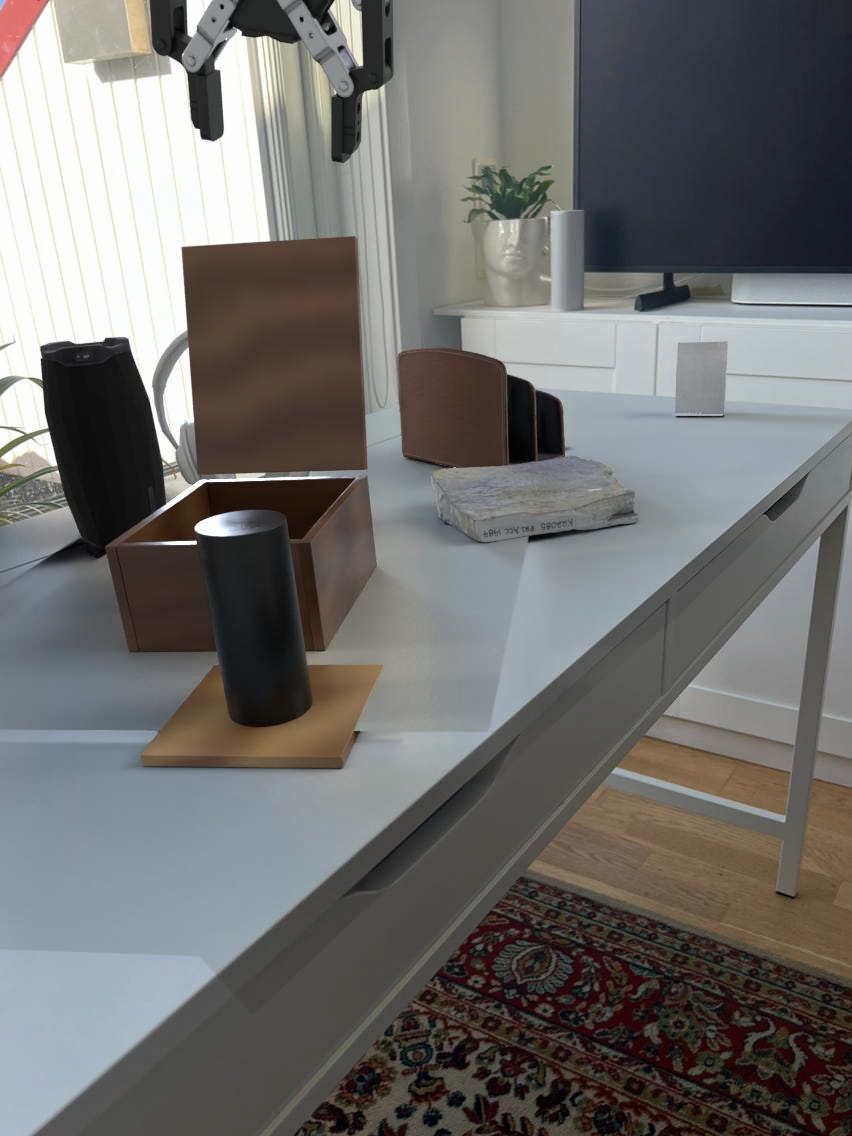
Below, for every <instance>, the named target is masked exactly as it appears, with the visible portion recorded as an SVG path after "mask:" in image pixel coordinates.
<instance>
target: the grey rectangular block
mask: <svg viewBox="0 0 852 1136" xmlns="http://www.w3.org/2000/svg"><path fill="white" fill-rule="evenodd" d="M728 345H729V341H728V340H724V341H722V340H721V341H685V342H683V341H682V342H678V343H677V351H676V352H677V353H676V370H675V407H674V408H675V411H674V414H675V413H691V414H692V413H694V414H695V413H697V414H699V413H701V414H724V411H725V412H726V396H727V394H726V393H727V373H728ZM724 415H725V414H724Z"/></svg>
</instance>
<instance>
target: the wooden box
mask: <svg viewBox="0 0 852 1136" xmlns="http://www.w3.org/2000/svg"><path fill="white" fill-rule="evenodd" d="M369 488H370V487H369V478H368V475H367V474H363V475H362V474H361V475H360V474H359V475H332V476H331V475H329V476H326V475H325V476H309V477H291V478H264V477H262V478H261V477H260V478H259V477H258V478H236V479H223V480H200V481H199V482H197V483H196V484H194V485H191V486H190V487H188V488H187V489H186V490H184V491H183V492H181V493H180V494H178V495H177V496H176V497H174V498H172V499H171V500H170V501H168V502H166V505H164V506H163V507H161V508H160V509H158V510H157V511H155V512H154V513H153V514H151V515H150V516H148V517H147V518H145V519H144V520H142V521H141V522H140V523H138V524H137V525H135V526H134V527H132V528H131V529H129V530H128V531H127V532H125V533H124V534H122V535H121V536H119V537H118V538H117V539H115V540H114V541H112V542H111V543H109V544H108V545H106V546H105V549H106V551H105V553H106V559H107V562H108V566H109V571H110V575H111V579H112V580H111V581H112V585H113V587H114V593H115V596H116V601H117V606H118V610H119V615H120V619H121V623H122V629H123V631H124V632H123V633H124V636H125V641H126V646H127V650H128V652H129V653H217V650H216V644H215V639H214V634H213V628H212V623H211V618H210V612H209V607H208V602H207V596H206V591H205V586H204V580H203V575H202V569H201V564H200V559H199V553H198V548H197V543H196V537H195V532H194V528H195V526H196V525H197V524H198V523H199V522H201V521H203V520H205V519H207V518H210V517H213V516H216V515H220V514H224V513H229V512H235V511H243V510H271V511H276V512H280V513H282V514H284V515H285V517H286V520H287V527H288V534H289V541H290V547H291V554H292V561H293V568H294V575H295V582H296V589H297V596H298V603H299V609H300V616H301V623H302V630H303V637H304V644H305V651H306V652H327V651H326V650H327V649H328V648H329V646H330V644H331V643H332V641H333V639H334V638H335V636H336V634H337V633H338V631H339V629H340V628H341V626H342V624H343V623H344V621H345V619H346V618H347V616H348V614H349V613H350V612H351V610H352V609H353V607H354V605H355V603H356V602H357V600H358V598H359V596H360V595H361V593H362V592H363V590H364V588H365V587H366V585H367V583H368V582H369V580H370V579H371V577H372V575H373V573H374V572H375V570H376V568H377V566H378V563H377V562H378V561H377V552H376V542H375V536H374V535H375V533H374V525H373V516H372V506H371V498H370V497H371V496H370V489H369Z"/></svg>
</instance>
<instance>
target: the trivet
mask: <svg viewBox="0 0 852 1136" xmlns="http://www.w3.org/2000/svg"><path fill="white" fill-rule="evenodd" d="M384 666H385V664H381V663H380V664H308V671H309V678H310V685H311V692H312V699H313V702H312V706H311V707H310V709H309V710H308V711H307V712H306V713H305V714H303V715H302V716H300V717H298V718H296V719H294V720H292V721H289V722H286V723H283V724H279V725H274V726H267V727H250V726H244V725H240V724H238V723H236V722H234V721H233V720H232V719H231V718H230V717H229V714H228V709H227V703H226V698H225V692H224V687H223V682H222V676H221V671H220V666H219V664H215V665H213V666H212V667H211V669H210V670H209V671H208V672H207V674H206V675H205V676H204V677H203V679H201V681H199V683H198V684H197V685H196V687H195V688H194V689H193V691H191V692H190V694H189V695H188V696H187V698H186V699H185V700H184V702H182V704H181V705H180V706H179V707H178V709H177V710H176V711H174V713H173V715H171V717H170V718H169V719H168V720H167V722H165V724H164V725H163V727H162V728H161V729H160V730H159V731H158V732H157V734H156V735H155V736H154V737H153V739H152V740H151V741H150V742H149V743H148V744H147V746H146V747H145V748H144V750H142V752H141V753H140V754H139V756H140V763H141V766H142V767H170V768H171V767H177V768H178V767H180V768H181V767H183V768H185V767H187V768H188V767H189V768H191V767H192V768H278V769H279V768H281V769H282V768H287V769H289V768H290V769H293V768H294V769H343V768H344V766H345V765H346V763H347V760H348V758H349V756H350V754H351V751H352V749H353V747H354V744H355V743H356V740H357V738H358V736H359V733H360V730H355V729H356V727H357V725H358V723H359V720H360V718H361V716H362V714H363V712H364V710H365V707H366V705H367V703H368V701H369V699H370V697H371V694H372V692H373V691H374V688H375V686H376V684H377V682H378V680H379V677H380V675H381V673H382V670H383V668H384Z"/></svg>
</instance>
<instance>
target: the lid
mask: <svg viewBox="0 0 852 1136" xmlns="http://www.w3.org/2000/svg"><path fill="white" fill-rule="evenodd" d="M358 242H359V241H358V237H356V236H355V235H348V236H347V235H346V236H333V237H331V236H330V237H315V238H314V237H313V238H300V239H299V238H298V239H286V240H285V239H282V240H267V241H249V242H235V243H234V242H233V243H219V244H203V245H202V244H201V245H200V244H199V245H186V246H185V245H184V246H181V247H180V248H181V249H180V250H181V263H182V275H183V276H182V277H183V289H184V290H183V291H184V302H185V305H184V306H185V317H186V329H187V333H188V346H189V347H188V357H189V358H188V359H189V372H190V374H189V375H190V387H191V398H192V399H191V401H192V411H193V412H192V414H193V418H194V429H195V443H196V457H197V470H198V475H210V474H236V475H240V474H241V475H243V474H265V473H276V472H310V473H311V472H337V471H339V472H341V471H367V470H368V445H367V444H368V443H367V422H366V421H367V420H366V400H365V397H366V396H365V377H364V375H365V374H364V356H363V354H364V353H363V333H362V332H363V331H362V311H361V290H360V287H361V286H360V268H359V267H360V265H359V263H360V262H359V245H358V244H359V243H358Z"/></svg>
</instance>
